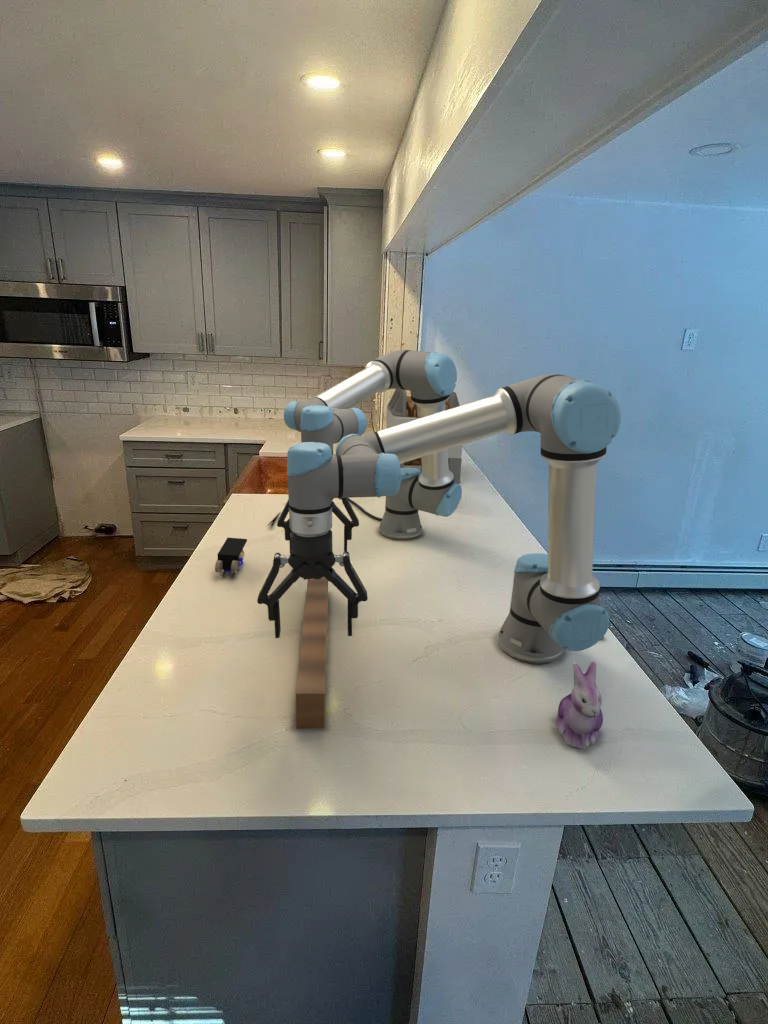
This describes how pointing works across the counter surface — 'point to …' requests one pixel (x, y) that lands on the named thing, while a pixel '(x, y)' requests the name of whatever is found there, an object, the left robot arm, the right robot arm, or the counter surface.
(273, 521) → the feather
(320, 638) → the bar
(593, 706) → the figurine
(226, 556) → the black boxy wheeled piece
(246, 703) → the counter surface
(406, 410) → the grey slatted crate
